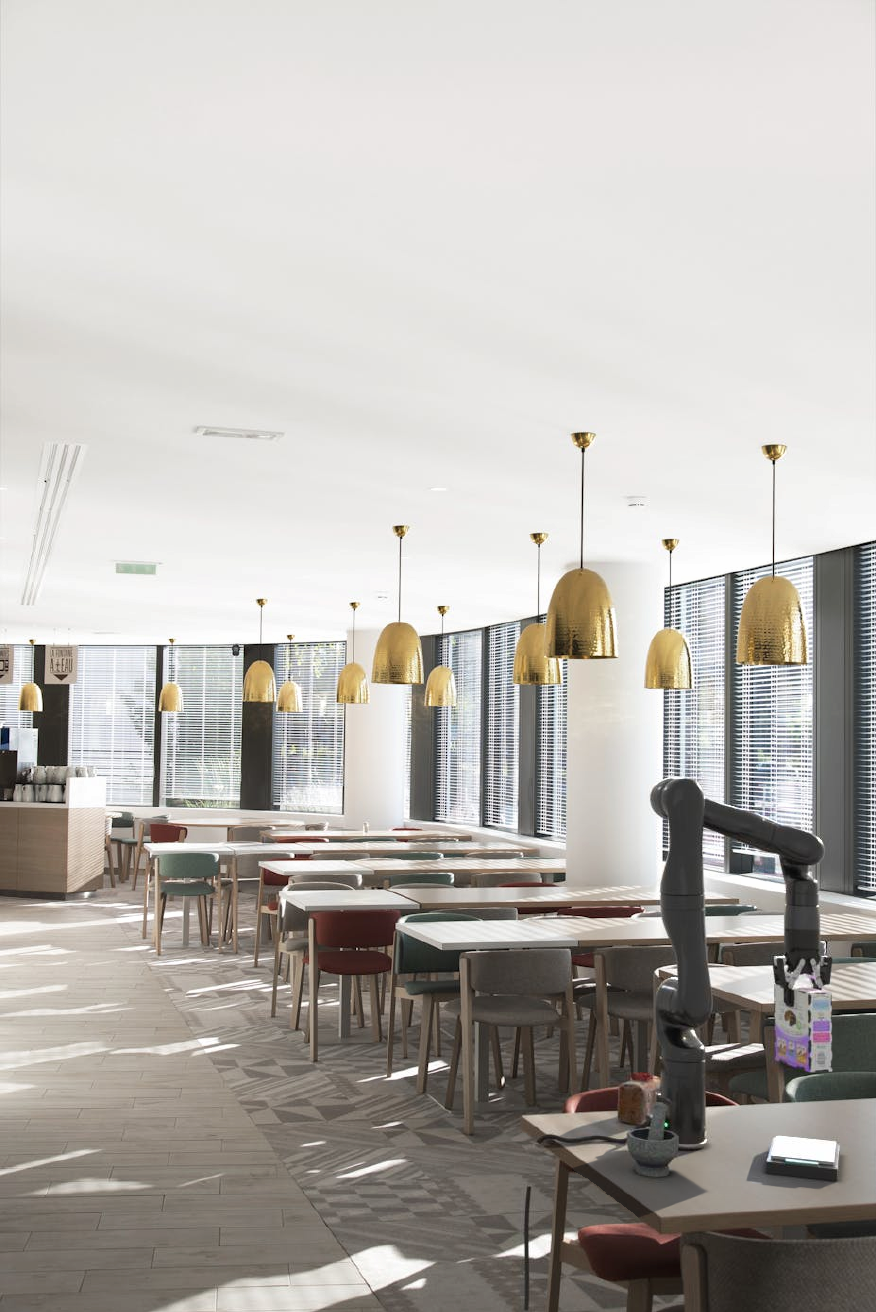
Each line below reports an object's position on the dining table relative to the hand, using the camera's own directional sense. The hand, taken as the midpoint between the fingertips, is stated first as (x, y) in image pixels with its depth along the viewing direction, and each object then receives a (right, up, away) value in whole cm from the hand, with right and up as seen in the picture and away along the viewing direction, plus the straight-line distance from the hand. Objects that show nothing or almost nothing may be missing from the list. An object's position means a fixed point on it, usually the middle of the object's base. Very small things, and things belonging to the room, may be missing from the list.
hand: (802, 1005), depth 270 cm
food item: (-33, -28, +10) cm, 44 cm away
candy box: (0, -13, -1) cm, 13 cm away
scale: (-6, -25, -23) cm, 34 cm away
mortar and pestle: (-37, -24, -29) cm, 53 cm away
